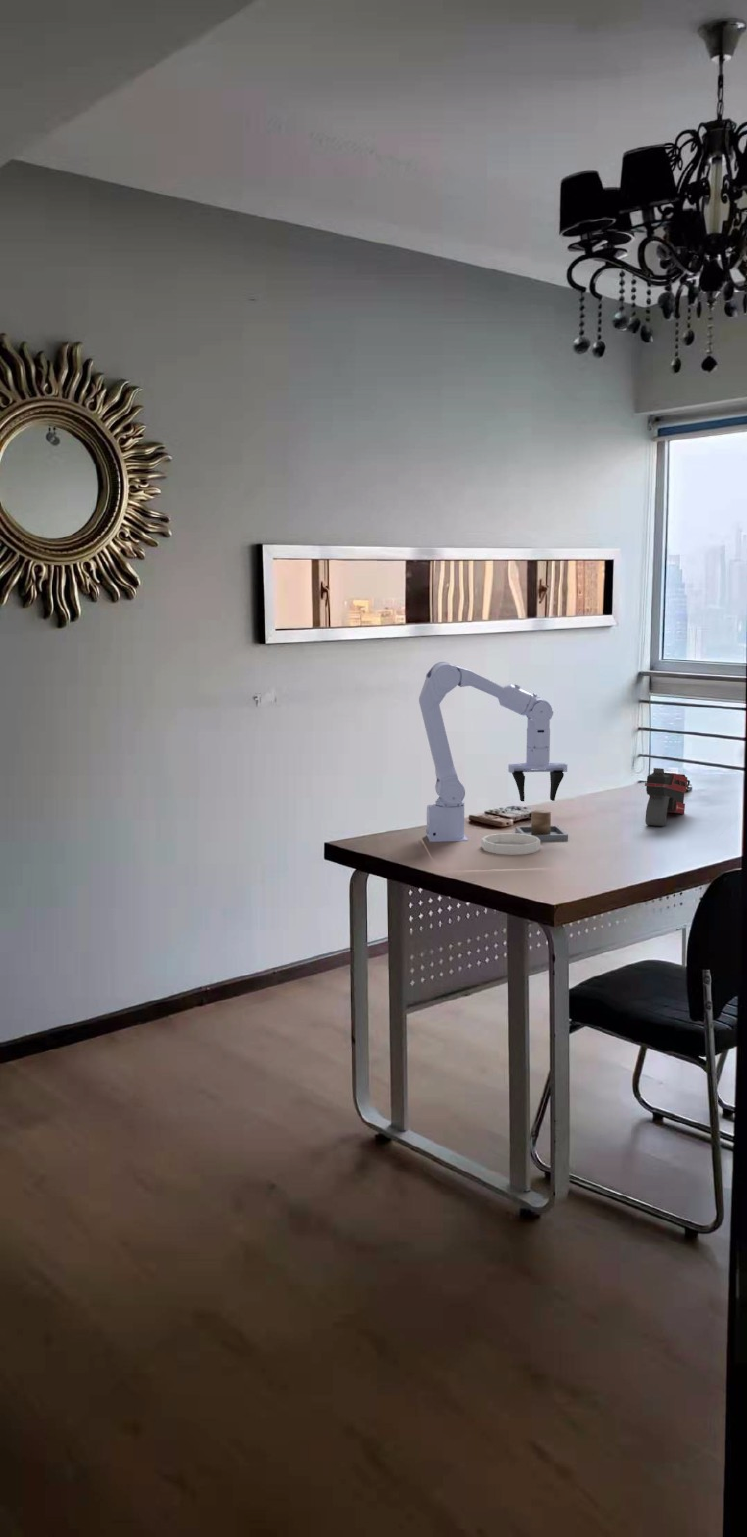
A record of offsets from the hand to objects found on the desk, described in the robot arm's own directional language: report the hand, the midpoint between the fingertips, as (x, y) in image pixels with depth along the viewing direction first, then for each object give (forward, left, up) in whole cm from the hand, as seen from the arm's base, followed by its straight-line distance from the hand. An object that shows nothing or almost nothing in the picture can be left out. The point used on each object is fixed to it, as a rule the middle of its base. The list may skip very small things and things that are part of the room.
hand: (537, 800), depth 299 cm
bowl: (-9, -13, -9) cm, 18 cm away
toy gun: (+39, +18, -10) cm, 44 cm away
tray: (+1, -1, -9) cm, 9 cm away
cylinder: (+1, -1, -9) cm, 9 cm away
